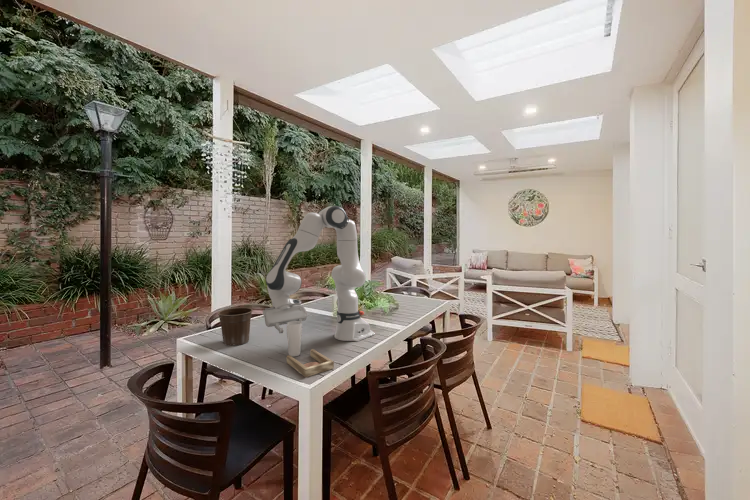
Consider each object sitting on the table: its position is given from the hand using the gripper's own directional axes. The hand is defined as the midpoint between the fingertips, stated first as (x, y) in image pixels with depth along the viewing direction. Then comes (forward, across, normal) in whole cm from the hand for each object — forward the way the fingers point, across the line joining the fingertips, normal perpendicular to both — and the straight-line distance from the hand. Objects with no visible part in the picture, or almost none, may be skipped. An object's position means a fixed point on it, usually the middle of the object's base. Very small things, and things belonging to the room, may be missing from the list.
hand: (291, 330), depth 147 cm
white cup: (+10, 0, +6) cm, 11 cm away
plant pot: (-14, -16, +30) cm, 36 cm away
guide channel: (+20, 0, -5) cm, 21 cm away
